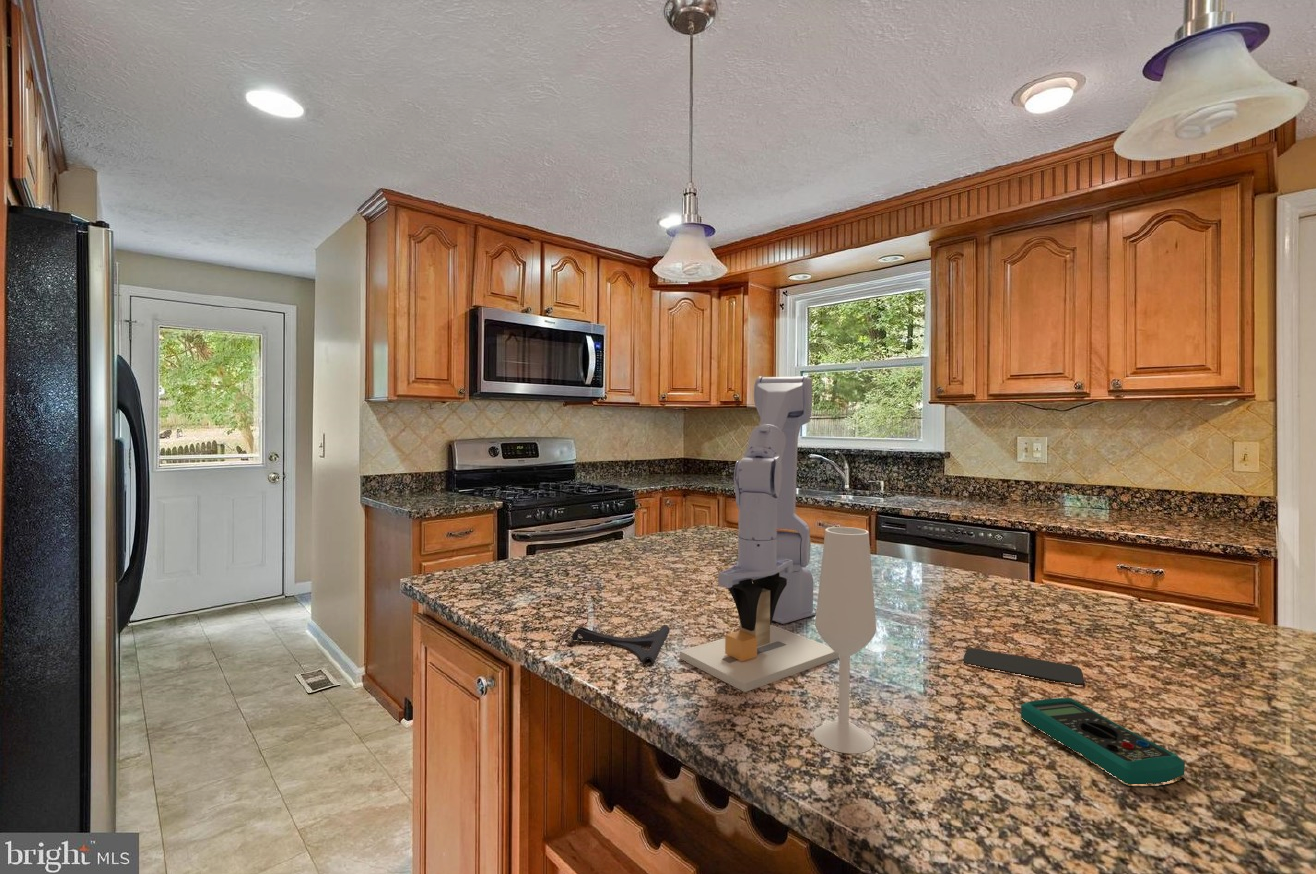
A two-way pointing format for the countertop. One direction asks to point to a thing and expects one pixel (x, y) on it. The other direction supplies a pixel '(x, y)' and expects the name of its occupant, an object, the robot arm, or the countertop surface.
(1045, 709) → the digital multimeter
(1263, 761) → the countertop surface
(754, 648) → the block
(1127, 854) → the countertop surface
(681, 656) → the switch panel
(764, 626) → the tall stone pillar
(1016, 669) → the phone
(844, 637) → the champagne flute
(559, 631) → the countertop surface
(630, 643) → the bracket
